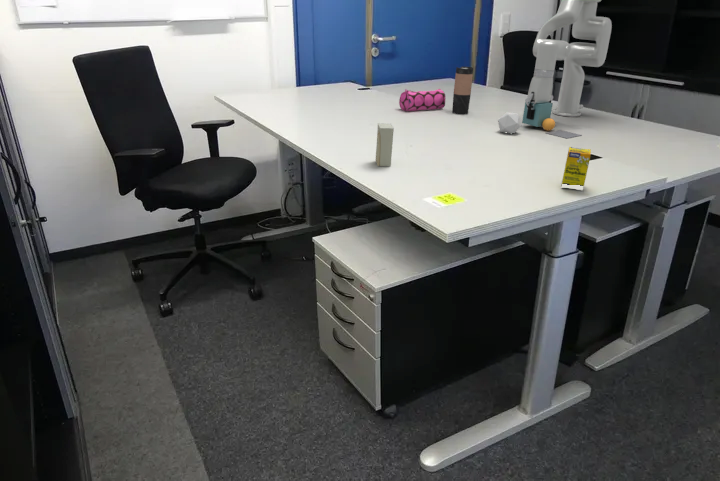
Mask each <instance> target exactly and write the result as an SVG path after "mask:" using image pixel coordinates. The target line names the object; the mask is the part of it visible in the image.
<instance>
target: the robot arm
mask: <svg viewBox="0 0 720 481" xmlns="http://www.w3.org/2000/svg"><path fill="white" fill-rule="evenodd" d="M601 1H602V0H561V2H560V4H559V7H558V10H557V12H556V14H554V16H551V18H549V19H547V21H545V23H544V24H542V26H541V28H540V29H539V31H538V32H537V34H536V38H535V40H534V43H533V47H532V54H533V56H534V57H535V58H536V60H535V65H534V66H535V67H534V71H533V72H534V73H533V77H532V78H531V81H530V84H529V88H528V92H527V97H526V98H525V102H526V105H527V109H528V111H527V117H526V118H527V119H531V120H533V119H534V113H535V110H534V108H535V105H536V104H539V103H547V102H549V103H552V101H553V100H554V95H553V85H554V84H553V83H554V75H555V68H556V62H557V61H564V62H563V63H564V64H563V71H562V78H561V83H560V88H559V93H558V100H557V104H556V105H557V106H556V109H552V113H553V115H558V116H562V117H563V116H564V117H573V118H574V117H576V118H577V117H580V116H582V112H580V111H579V110H581V109H583V108H584V105H583V104H581V97H582V92H583V87H584V82H585V78H586V77H585V76H586V75H585V71H584V69H583V67H584V66H585V67H592V68H593V67H594V68H599V67H601V66H603V65H604V64H605V62H606V61H605V60H606V58H607V53H608V49H609V43H610V39H611V34H612V28H613V27H612V26H613V25H612V20H611V19H610V17H606V16H605V17H604V16H597V8H598V3H600V2H601ZM570 25H572V27H571V28H572V29H571V35H572V37H573V38H575V39H579V40H588V41H595V43H590V42H581V41H579V42H577V41H576V42H570V43H569V42H568V41H566V40H561V39H560V40H559V39H550V38H548V37H549V36H550V35H551V34H552V33H553V32H555V31H557V30H559V29H562V28H565V27H567V26H570ZM531 103H533V106H532V104H531Z"/></svg>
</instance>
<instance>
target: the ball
mask: <svg viewBox="0 0 720 481" xmlns="http://www.w3.org/2000/svg"><path fill="white" fill-rule="evenodd" d="M555 126H556V122H555V120H554V119H553V118H551V117H550V118H547V119H545V120H544V121H543V123H542V126H541V127H542V128H543V129H542V130H544V131H547V132H551V131H553V129H555Z"/></svg>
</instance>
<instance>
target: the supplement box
mask: <svg viewBox="0 0 720 481" xmlns="http://www.w3.org/2000/svg"><path fill="white" fill-rule="evenodd" d="M567 151H568V152H567V154H566V155H567V156H566V161H565V166H564V171H563V176H562V180H561V185H562V184H567V185H580V186H585V182H586V178H587V173H588V169H589V164H590V161H591V154H592V152H591V151H592V150H591V149H590V148H589V149H588V148H582V147H581V148H580V147H573V146H569V147H568V150H567Z"/></svg>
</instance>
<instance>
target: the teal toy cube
mask: <svg viewBox="0 0 720 481" xmlns="http://www.w3.org/2000/svg"><path fill="white" fill-rule="evenodd" d="M531 104H532V106H533V103H531ZM553 106H554V105H553V103H552V102H551V103H549V102H547V103H539V104H536V105H535V108H534V110H535V113H534V119H533V120H531V119H527V118H526V117H527V111H528V109H527V105H526V101H525V102H524V108H523V115H522V119H521V120H522V121H521V124H525V125H529V126H534V127H536V128H538V127H542V123H543V121H544V120H545V119H547V118H551V116H552V112H553Z"/></svg>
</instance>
